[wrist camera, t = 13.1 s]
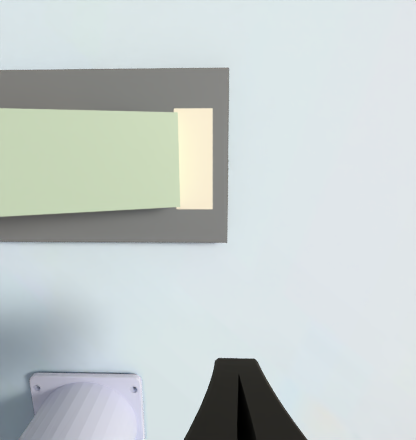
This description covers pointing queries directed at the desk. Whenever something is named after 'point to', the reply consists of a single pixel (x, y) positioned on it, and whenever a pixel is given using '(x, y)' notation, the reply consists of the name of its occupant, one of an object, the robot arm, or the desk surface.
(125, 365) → the desk surface
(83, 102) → the board
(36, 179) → the green domino
